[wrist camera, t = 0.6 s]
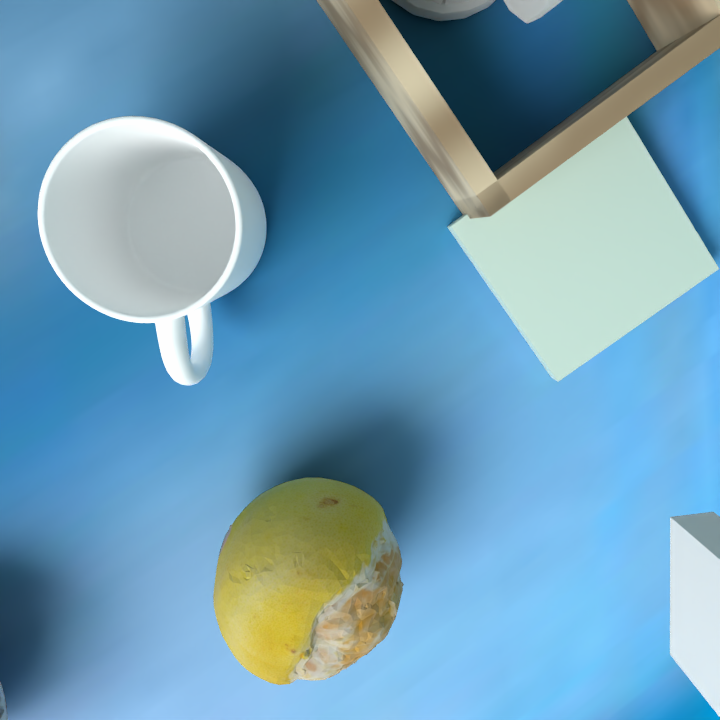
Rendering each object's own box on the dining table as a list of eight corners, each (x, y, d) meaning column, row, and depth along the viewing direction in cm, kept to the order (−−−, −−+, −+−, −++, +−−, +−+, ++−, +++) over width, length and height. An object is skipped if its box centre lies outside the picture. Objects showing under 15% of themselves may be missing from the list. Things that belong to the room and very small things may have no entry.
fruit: (222, 602, 40) (185, 719, 31) (242, 441, 38) (209, 512, 29) (380, 621, 41) (393, 741, 31) (408, 464, 39) (431, 540, 29)
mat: (447, 226, 36) (450, 226, 35) (608, 106, 35) (618, 102, 34) (551, 377, 38) (557, 381, 37) (707, 267, 37) (719, 268, 36)
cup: (258, 141, 35) (226, 104, 25) (286, 353, 38) (267, 396, 28) (108, 157, 35) (17, 126, 25) (145, 369, 37) (76, 418, 27)
